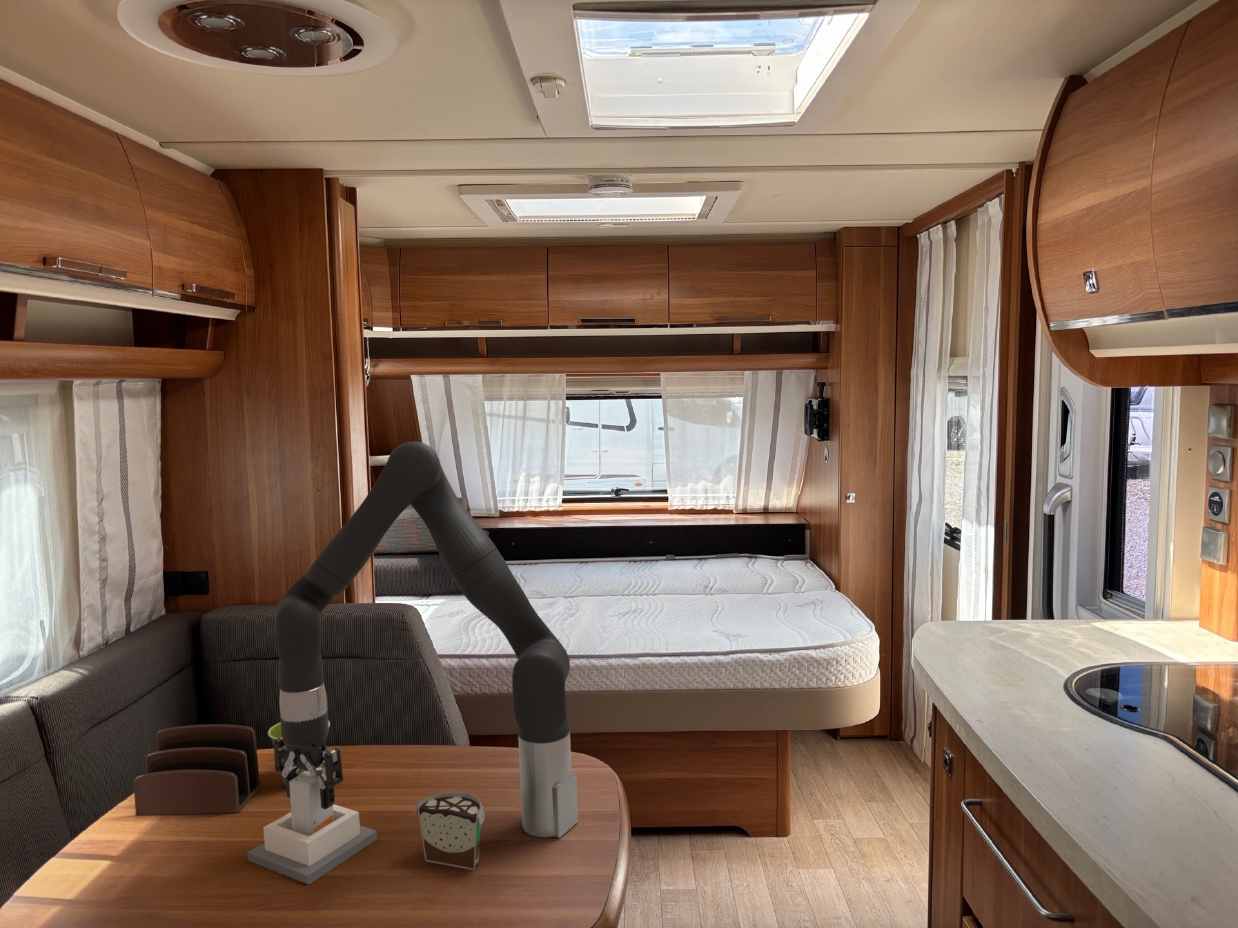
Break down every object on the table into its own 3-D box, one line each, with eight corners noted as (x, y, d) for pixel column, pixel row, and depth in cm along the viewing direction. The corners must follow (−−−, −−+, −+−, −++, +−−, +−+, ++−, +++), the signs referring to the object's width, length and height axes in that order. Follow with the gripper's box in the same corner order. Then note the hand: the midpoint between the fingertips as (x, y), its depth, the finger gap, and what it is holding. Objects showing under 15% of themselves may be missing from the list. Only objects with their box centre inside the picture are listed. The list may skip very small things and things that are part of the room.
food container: (500, 851, 143) (497, 795, 142) (482, 871, 138) (480, 813, 137) (437, 840, 147) (434, 785, 146) (417, 859, 142) (414, 803, 141)
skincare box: (313, 851, 142) (308, 784, 141) (292, 848, 144) (287, 781, 142) (336, 833, 148) (331, 768, 147) (316, 829, 149) (311, 765, 148)
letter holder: (163, 791, 169) (157, 724, 168) (261, 788, 169) (256, 721, 168) (135, 817, 159) (128, 745, 158) (239, 814, 159) (233, 742, 158)
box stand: (377, 838, 148) (375, 809, 148) (308, 884, 135) (306, 852, 135) (318, 819, 156) (316, 790, 155) (247, 860, 143) (245, 829, 142)
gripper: (350, 709, 143) (356, 800, 144) (293, 696, 150) (300, 783, 151) (315, 726, 136) (321, 821, 138) (257, 711, 143) (264, 802, 145)
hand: (310, 801), depth 145 cm, fingers open, 8 cm apart
